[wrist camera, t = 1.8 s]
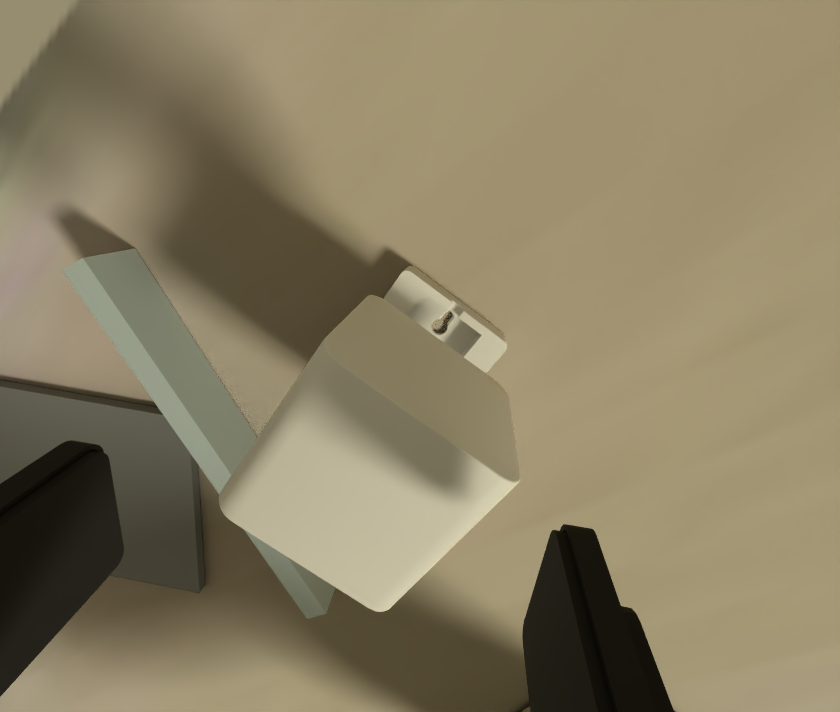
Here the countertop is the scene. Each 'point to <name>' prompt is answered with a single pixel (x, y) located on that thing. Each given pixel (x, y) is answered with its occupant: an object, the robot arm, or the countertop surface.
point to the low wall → (181, 387)
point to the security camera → (383, 445)
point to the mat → (119, 474)
